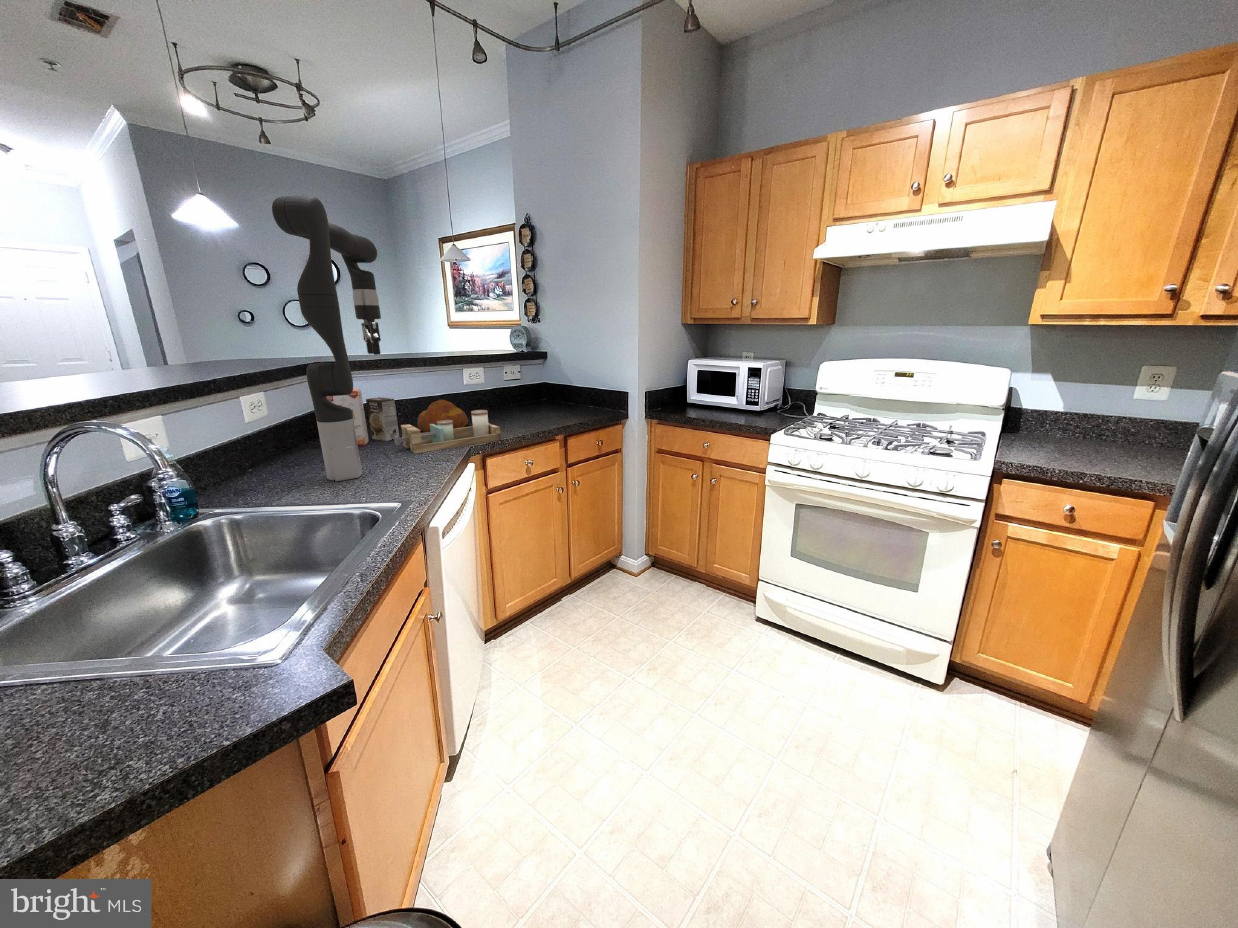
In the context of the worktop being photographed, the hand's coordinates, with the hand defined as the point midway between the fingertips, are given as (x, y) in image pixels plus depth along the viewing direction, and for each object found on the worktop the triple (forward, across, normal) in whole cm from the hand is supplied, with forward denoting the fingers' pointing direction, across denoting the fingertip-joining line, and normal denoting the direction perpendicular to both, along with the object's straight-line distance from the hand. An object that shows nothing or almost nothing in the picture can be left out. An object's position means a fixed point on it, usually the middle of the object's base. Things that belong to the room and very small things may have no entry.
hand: (374, 354), depth 165 cm
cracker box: (+34, +20, +10) cm, 41 cm away
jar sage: (+34, -4, -20) cm, 40 cm away
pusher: (+34, -4, -10) cm, 35 cm away
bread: (+35, +28, -29) cm, 53 cm away
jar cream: (+34, -4, -34) cm, 48 cm away
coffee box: (+34, +22, -4) cm, 41 cm away
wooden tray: (+34, -4, -22) cm, 41 cm away
